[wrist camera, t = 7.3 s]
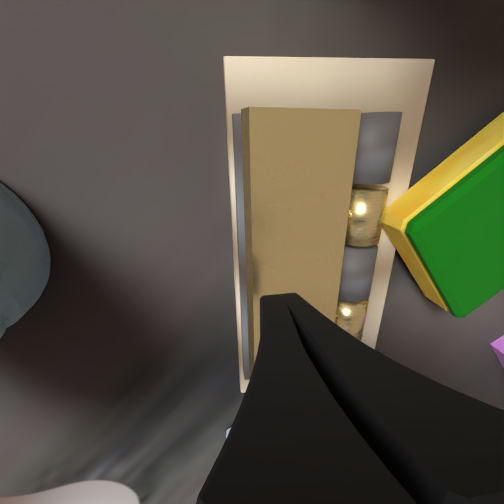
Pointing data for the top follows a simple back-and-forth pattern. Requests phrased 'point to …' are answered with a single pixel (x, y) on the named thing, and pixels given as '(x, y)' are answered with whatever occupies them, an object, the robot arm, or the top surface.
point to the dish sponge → (456, 224)
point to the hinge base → (340, 95)
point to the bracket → (499, 349)
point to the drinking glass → (20, 259)
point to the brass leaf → (304, 210)
